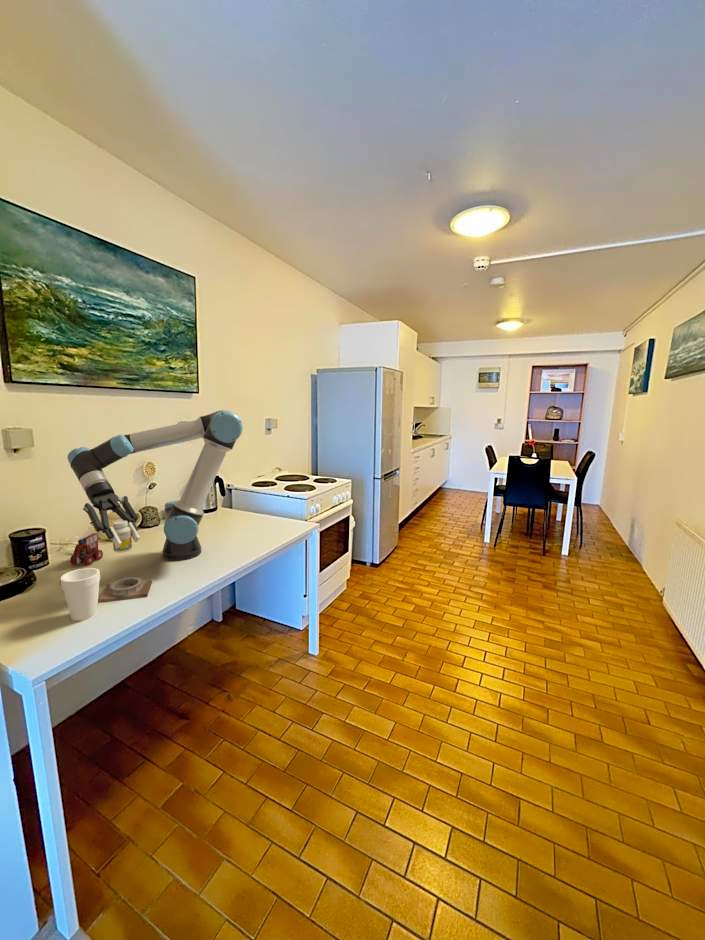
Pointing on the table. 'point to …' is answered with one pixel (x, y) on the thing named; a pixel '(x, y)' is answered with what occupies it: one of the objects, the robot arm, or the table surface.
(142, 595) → the socket board
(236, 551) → the table surface
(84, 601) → the foam cup
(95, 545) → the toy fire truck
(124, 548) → the supplement bottle
